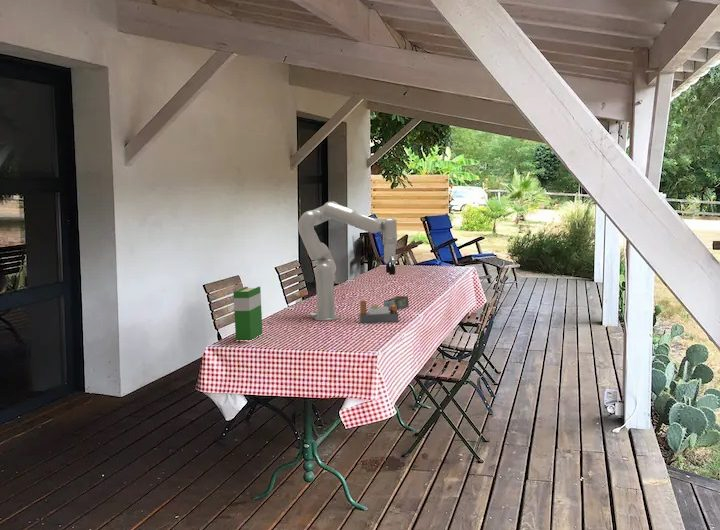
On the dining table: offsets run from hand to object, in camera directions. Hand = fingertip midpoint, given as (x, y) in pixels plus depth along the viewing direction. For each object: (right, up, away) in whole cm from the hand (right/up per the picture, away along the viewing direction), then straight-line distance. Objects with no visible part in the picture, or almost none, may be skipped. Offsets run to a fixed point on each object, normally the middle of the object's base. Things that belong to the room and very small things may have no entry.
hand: (390, 273), depth 382 cm
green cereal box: (-70, -31, -37) cm, 85 cm away
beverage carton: (+5, -21, +36) cm, 42 cm away
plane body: (-7, -25, -5) cm, 27 cm away
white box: (-7, -21, -5) cm, 23 cm away
